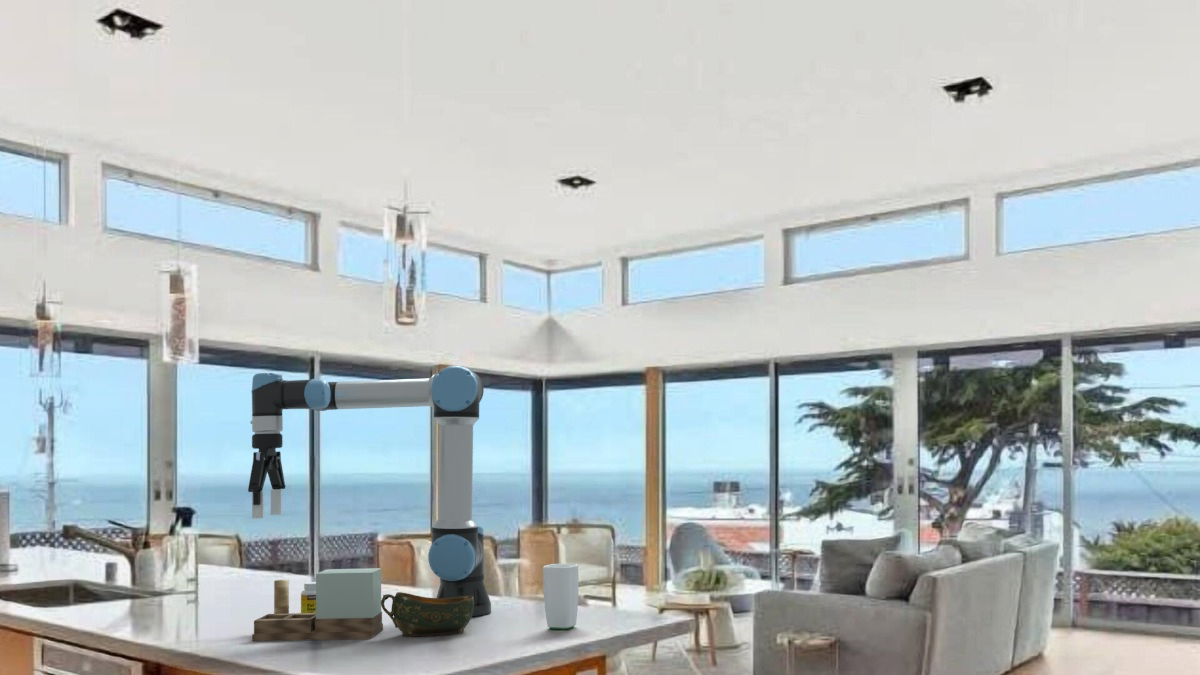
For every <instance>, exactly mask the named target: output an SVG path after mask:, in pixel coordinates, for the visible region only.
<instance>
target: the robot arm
mask: <svg viewBox="0 0 1200 675" xmlns="http://www.w3.org/2000/svg"><path fill="white" fill-rule="evenodd" d="M251 385H252V386H251V413H252V414H251V418H252V420H250V424H251V425H252V426H251V427H252V429H251V432H252V433H254V434H252V435H251V448H252V449H255V450H256V449H258V451H255V452H253V456H252V466H251V470H250V471H251V472H250V476H249V482H248V483H249V484H248V488H247V491H248V493H252V494H251V501H252V503H251V506H252V507H251V519H264V518H265V491H263V489H264V485H265V482H266V478H267V475H268V478H269V482H270V485H271V489H270V516H272V515H273V516H274V515H279V516H280V515H282V514H283V502H282V500H283V498H282V497H283V494H282V493H283V491H282V490H284V489H286V482H285V476H284V471H283V465H282V457H281V451H277V450H276V449H281V448H283V434H282V433H281V432H283V428H284V427H283V421H284V420H283V410H314V411H317V412H327V411H336V410H353V409H354V410H359V409H384V408H385V409H387V408H415V407H416V408H419V407H421V408H422V407H431V408H432V409H433V419H434V420H435V421H436V422H437V424H438V425H439V432H438V434H439V436H438V438H439V440H438V442H439V443H438V444H439V446H438V496H437V498H438V499H437V500H438V501H437V504H438V506H437V520H436V521H435V522H434V523H433V524H432V525H431V545H430V548H429V550H428V555H427V557H428V564H429V567H430V569H431V570H432V572H433V574H434V575H436V576H437V577H438V578H439V581H440V582H439V589H438V591H437V594H436V597H435V598H452V597H460V596H474V610H473V614H472V617H477V616H478V617H479V616H483V615H488V614H491V612H492V602H491V599H490V596H489V593H488V590H487V587H486V584H485V560H484V559H485V558H484V557H485V556H484V555H485V554H484V550H485V548H484V547H485V546H484V544H485V543H484V540H485V534H484V528H483V526H481V525H478V524H477V523H476V522H475V521H474V519H473V475H474V473H473V469H474V466H473V463H474V460H473V458H474V457H473V456H474V451H473V450H474V425H475V423H476V422H478V420H480V402H481V401H482V399H483V396H484V384H483V382H482V379H481V377H480V376H479V375H478V374H477V373H476V372H475V371H473V370H472V369H470V368H468V367H466V366H464V365H449V366H446V367H444V368H443V369H440V370H439V371H438V372H437V373H436V374H435V373H434V374H433V375H432V376H431V377H429V378H426V377H425V378H405V379H404V378H402V379H381V380H380V379H377V380H374V379H373V380H352V381H351V380H349V381H348V380H347V381H327V380H326V379H317V378H312V379H295V380H285V379H284V378H283V374H281V373H278V372H259V373H255V374H254V375H253V377H252V383H251Z"/></svg>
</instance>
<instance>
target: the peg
mask: <svg viewBox="0 0 1200 675" xmlns="http://www.w3.org/2000/svg"><path fill="white" fill-rule="evenodd" d="M289 580H290V579H277V580H276V579H275V580H274V581H273V583H274V584H273V586H274V587H273V588H274V590H273V593H274V594H273V595H274V596H273V598H274V599H273V603H274V604H273V614H290V581H289Z"/></svg>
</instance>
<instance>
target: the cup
mask: <svg viewBox="0 0 1200 675" xmlns="http://www.w3.org/2000/svg"><path fill="white" fill-rule="evenodd" d="M542 584H543V586H542V587H543V588H542V589H543V598H544V599H543V602H544V611H545V619H546V624H547V627H548V628H549V629H552V630H570V629H572V628H574V627H575V626H576V625H577V620H578V619H577V618H578V608H579V607H578V606H579V564H577V563H551V564H547V565H544V566H543V567H542Z"/></svg>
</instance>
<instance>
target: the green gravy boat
mask: <svg viewBox="0 0 1200 675" xmlns="http://www.w3.org/2000/svg"><path fill="white" fill-rule="evenodd" d="M389 598H391V599H392V602H391V611H390V610H388V609H387V608H386V607H385V601H387V600H388V599H389ZM381 609H382V610H383V611H384V613H385V614H386V615H388V616H389V618H390V619H391V620H392V622H393V624H394V627H395V628H396V629H398V630H399V631H400V633H401V635H402V637H404V638H428V637H429V638H430V637H431V638H432V637H442V636H451V635H456V634H462V633H464V630H465V628H466V627H467V626H468V624H469V623H470V621H471V619H472V617H473V616H472V614H473V610H474V596H460V597H452V598H436V597H426V596H421V595H415V594H412V593H406V592H401V591H400V592H399V591H397V592H396V593H395V596H394V595H393V594H390V593H387V594H383V595H382V597H381Z"/></svg>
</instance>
